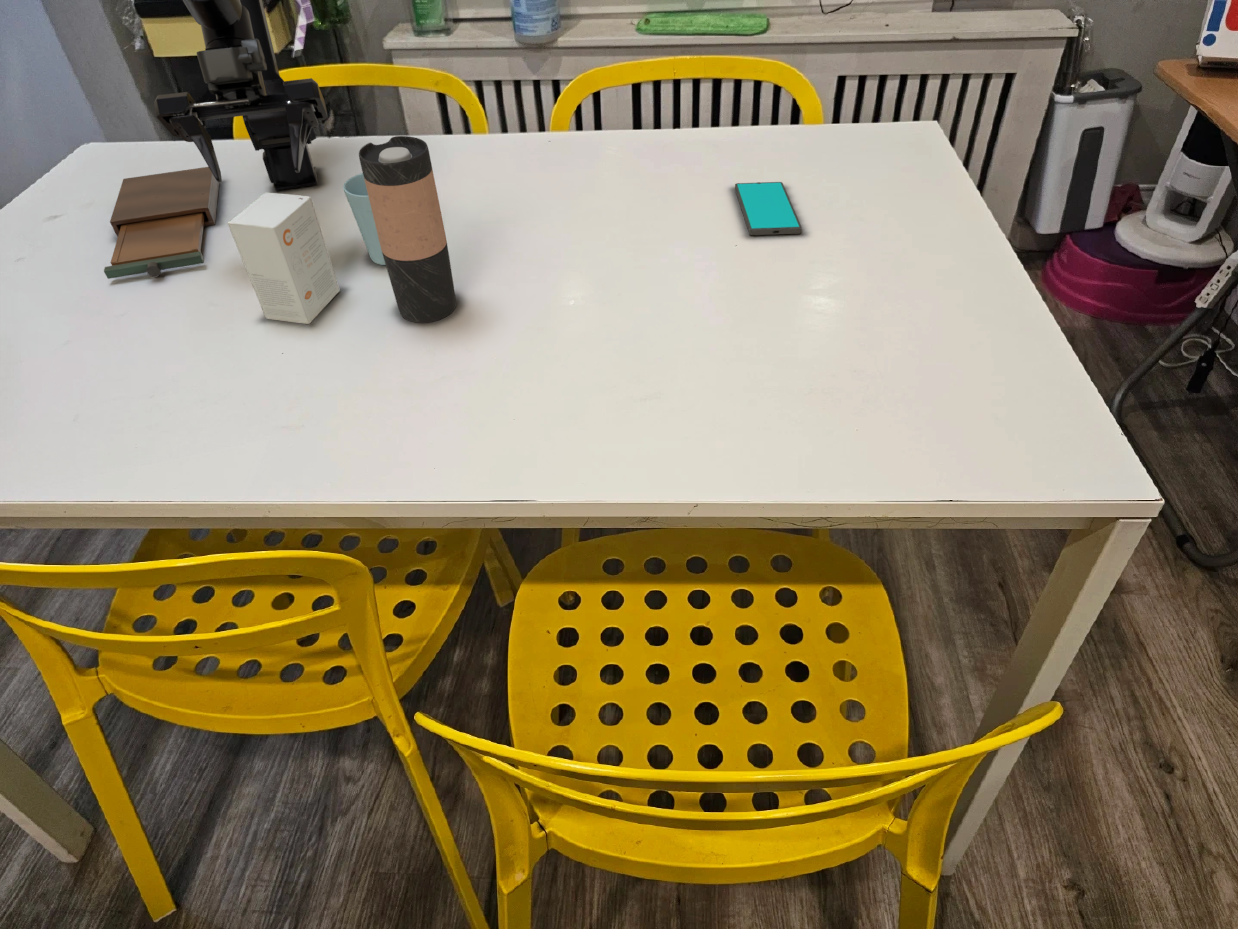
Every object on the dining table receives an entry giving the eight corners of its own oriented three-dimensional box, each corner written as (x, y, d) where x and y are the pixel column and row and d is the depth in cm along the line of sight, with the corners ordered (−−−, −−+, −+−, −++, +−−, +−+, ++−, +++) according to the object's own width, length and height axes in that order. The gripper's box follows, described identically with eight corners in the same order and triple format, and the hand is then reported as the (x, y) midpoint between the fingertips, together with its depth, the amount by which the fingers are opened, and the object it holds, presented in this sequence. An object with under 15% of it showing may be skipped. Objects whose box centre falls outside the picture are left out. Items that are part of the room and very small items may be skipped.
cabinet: (215, 224, 117) (207, 206, 115) (118, 239, 115) (109, 221, 113) (219, 182, 128) (212, 165, 126) (131, 195, 125) (123, 178, 123)
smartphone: (750, 229, 110) (734, 183, 121) (749, 235, 111) (734, 188, 122) (802, 228, 110) (782, 181, 121) (801, 233, 111) (782, 186, 122)
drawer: (203, 268, 107) (199, 258, 106) (107, 284, 104) (101, 274, 103) (209, 218, 118) (205, 208, 116) (122, 231, 115) (117, 221, 114)
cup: (415, 268, 107) (399, 194, 100) (358, 271, 107) (337, 197, 99) (422, 240, 112) (406, 168, 105) (368, 243, 112) (348, 171, 105)
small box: (298, 285, 104) (265, 190, 95) (341, 291, 103) (312, 195, 94) (263, 319, 99) (225, 221, 90) (309, 325, 97) (274, 227, 88)
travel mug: (445, 327, 96) (412, 165, 83) (387, 321, 98) (344, 161, 84) (466, 293, 102) (439, 137, 88) (411, 288, 103) (374, 133, 89)
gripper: (120, 20, 87) (150, 160, 88) (296, 4, 91) (324, 138, 91) (160, 72, 98) (186, 195, 99) (315, 55, 102) (340, 175, 102)
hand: (258, 176), depth 97 cm, fingers open, 9 cm apart
